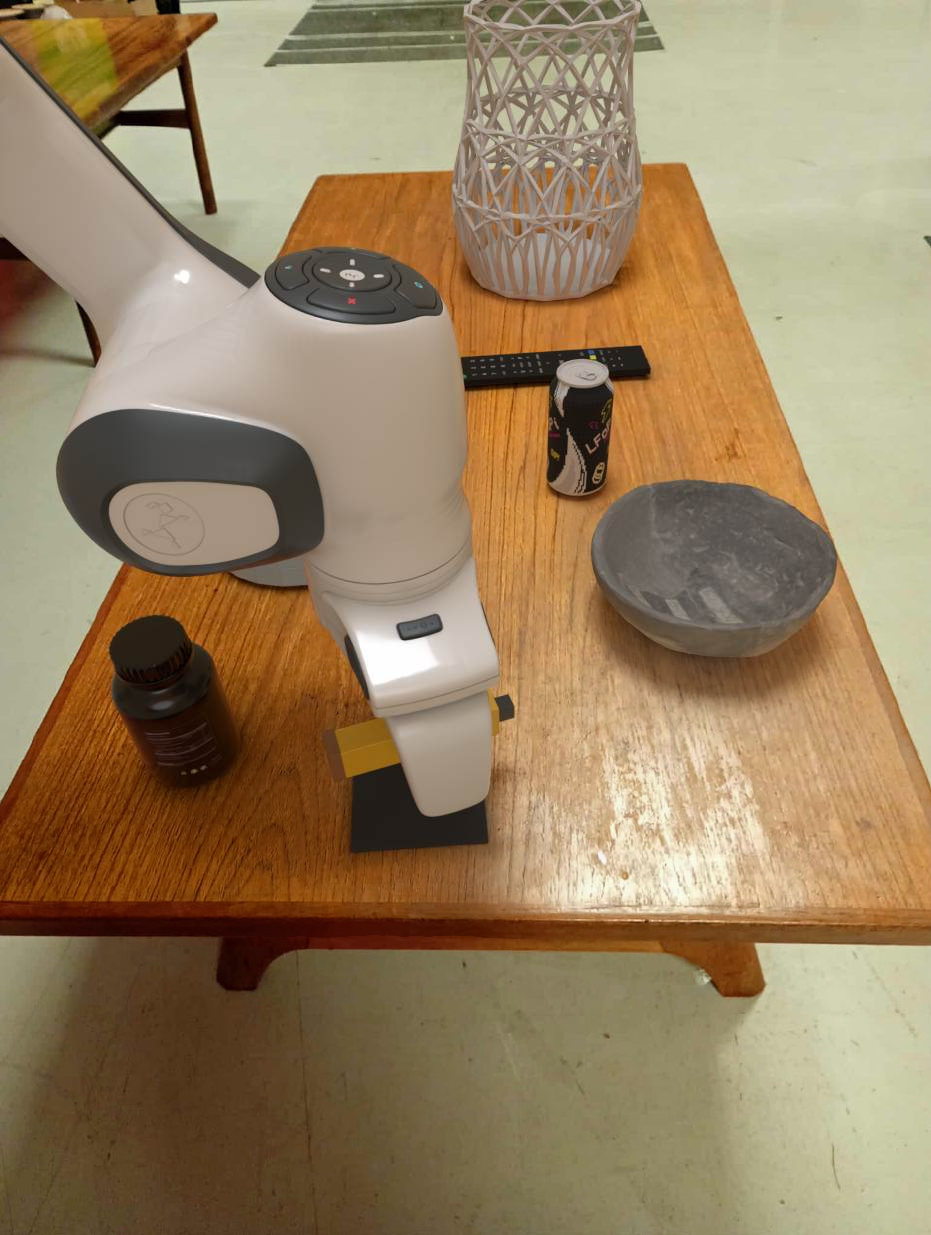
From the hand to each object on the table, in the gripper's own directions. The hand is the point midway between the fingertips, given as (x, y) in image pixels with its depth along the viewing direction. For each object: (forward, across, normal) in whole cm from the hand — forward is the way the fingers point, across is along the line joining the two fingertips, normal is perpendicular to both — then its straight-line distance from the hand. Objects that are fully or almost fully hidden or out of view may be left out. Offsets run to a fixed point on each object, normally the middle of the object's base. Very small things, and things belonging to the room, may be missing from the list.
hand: (412, 731), depth 57 cm
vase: (+7, -75, +40) cm, 85 cm away
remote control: (+7, -49, +29) cm, 57 cm away
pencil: (+2, 0, 0) cm, 2 cm away
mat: (+7, 0, 0) cm, 7 cm away
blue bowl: (+7, -32, -2) cm, 32 cm away
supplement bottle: (+7, -9, -14) cm, 18 cm away
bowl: (+7, -9, +26) cm, 28 cm away
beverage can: (+7, -29, +24) cm, 38 cm away
